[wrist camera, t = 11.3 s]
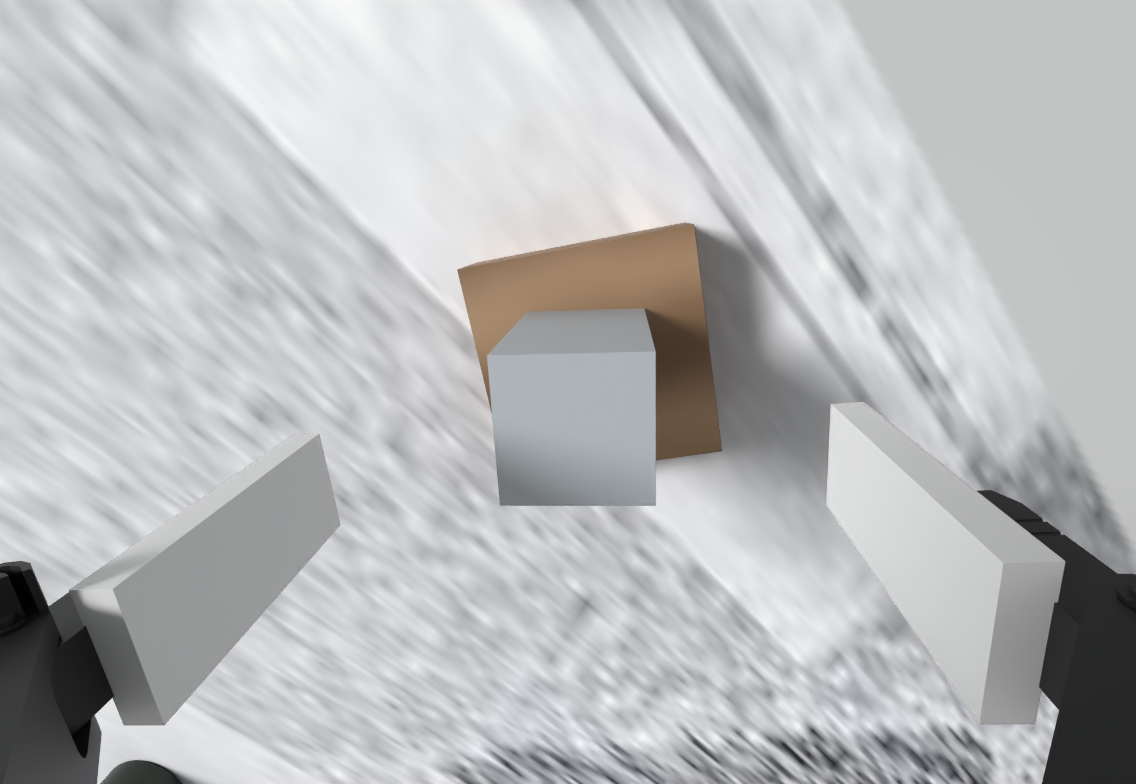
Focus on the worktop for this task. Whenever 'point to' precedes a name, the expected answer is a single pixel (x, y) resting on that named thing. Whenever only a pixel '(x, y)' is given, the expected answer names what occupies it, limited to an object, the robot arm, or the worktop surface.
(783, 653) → the worktop surface
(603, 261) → the walnut block
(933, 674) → the worktop surface
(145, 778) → the wine bottle
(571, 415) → the slate block
